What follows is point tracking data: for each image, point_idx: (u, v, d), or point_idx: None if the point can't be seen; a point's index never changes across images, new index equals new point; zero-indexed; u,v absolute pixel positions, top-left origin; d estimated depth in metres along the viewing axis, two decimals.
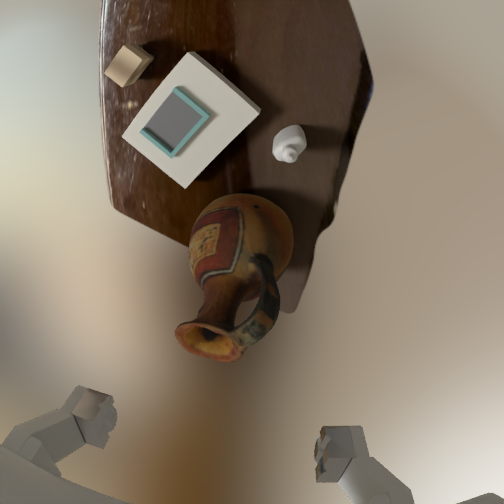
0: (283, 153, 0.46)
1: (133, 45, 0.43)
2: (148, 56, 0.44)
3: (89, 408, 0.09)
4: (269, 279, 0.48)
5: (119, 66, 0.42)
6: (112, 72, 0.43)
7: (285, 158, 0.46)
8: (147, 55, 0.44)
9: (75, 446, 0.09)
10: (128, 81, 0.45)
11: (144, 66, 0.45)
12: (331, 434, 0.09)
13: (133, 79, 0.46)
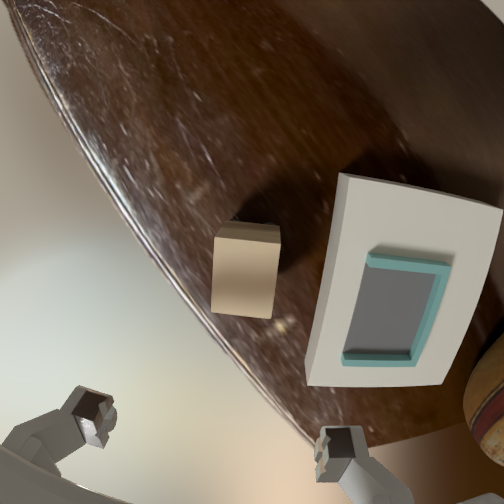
0: None
1: (225, 224, 0.25)
2: (271, 229, 0.25)
3: (89, 408, 0.09)
4: None
5: (235, 283, 0.23)
6: (229, 302, 0.24)
7: None
8: (268, 228, 0.26)
9: (75, 446, 0.09)
10: None
11: None
12: (331, 434, 0.09)
13: None
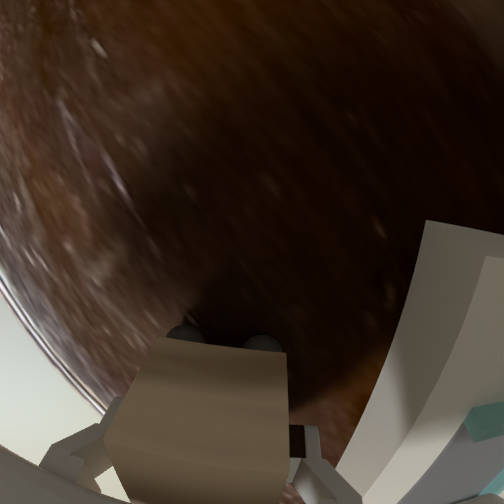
0: None
1: (151, 362, 0.09)
2: (265, 375, 0.10)
3: None
4: None
5: None
6: None
7: None
8: (259, 375, 0.10)
9: None
10: None
11: None
12: None
13: None
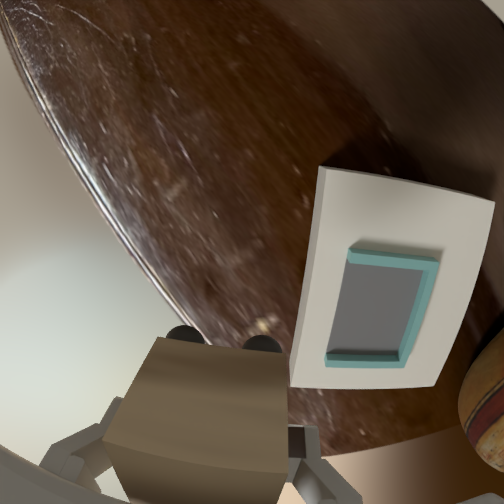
0: None
1: (151, 363, 0.09)
2: (265, 376, 0.10)
3: None
4: None
5: None
6: None
7: None
8: (258, 375, 0.10)
9: None
10: None
11: None
12: None
13: None
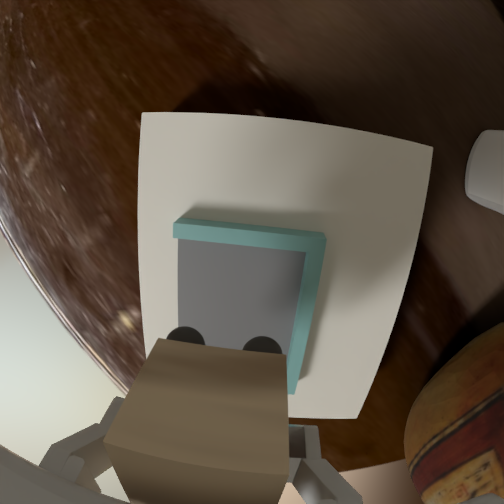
0: None
1: (151, 364, 0.09)
2: (265, 377, 0.10)
3: None
4: None
5: None
6: None
7: None
8: (258, 377, 0.10)
9: None
10: None
11: None
12: None
13: None
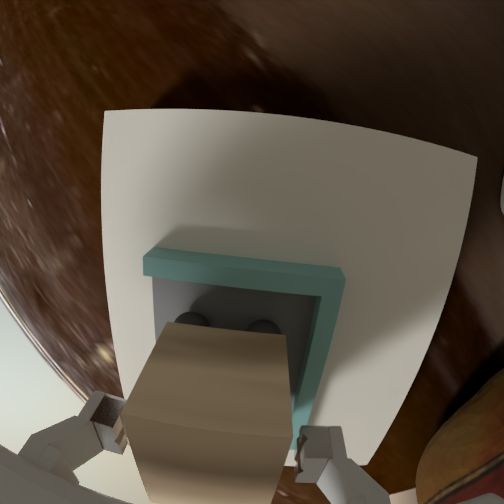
0: None
1: (162, 344, 0.10)
2: (267, 354, 0.11)
3: (108, 414, 0.09)
4: None
5: (188, 482, 0.08)
6: (180, 498, 0.09)
7: None
8: (261, 354, 0.11)
9: (93, 452, 0.09)
10: None
11: None
12: (309, 434, 0.10)
13: None
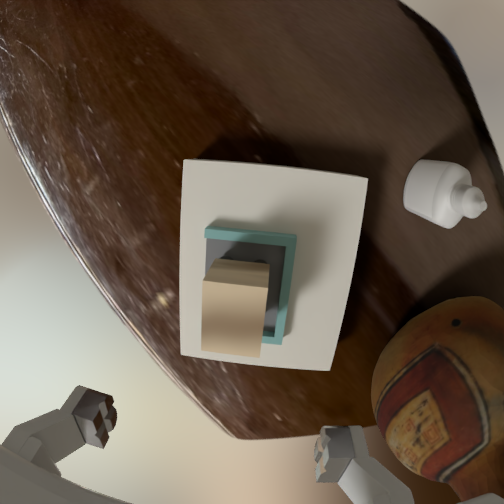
0: (464, 206, 0.19)
1: (215, 264, 0.26)
2: (260, 268, 0.26)
3: (89, 408, 0.09)
4: None
5: (224, 324, 0.23)
6: (218, 341, 0.24)
7: (471, 212, 0.19)
8: (258, 268, 0.26)
9: (75, 446, 0.09)
10: None
11: None
12: (331, 434, 0.09)
13: None
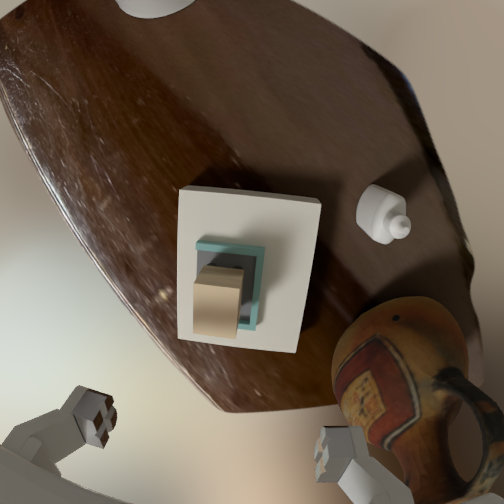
0: (391, 230, 0.28)
1: (203, 270, 0.34)
2: (236, 273, 0.35)
3: (89, 408, 0.09)
4: (475, 396, 0.22)
5: (209, 314, 0.32)
6: (205, 327, 0.33)
7: (398, 234, 0.28)
8: (234, 273, 0.35)
9: (75, 446, 0.09)
10: None
11: (241, 290, 0.35)
12: (331, 434, 0.09)
13: None
